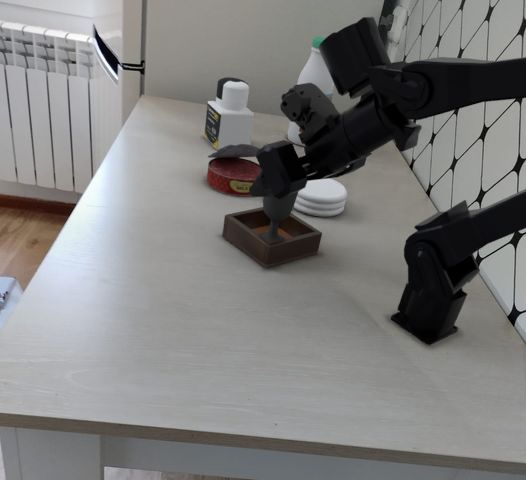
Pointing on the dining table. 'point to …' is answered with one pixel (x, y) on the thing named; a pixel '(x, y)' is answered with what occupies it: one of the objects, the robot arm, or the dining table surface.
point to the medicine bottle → (229, 114)
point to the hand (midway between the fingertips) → (272, 185)
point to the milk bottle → (313, 74)
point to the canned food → (233, 170)
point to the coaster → (321, 198)
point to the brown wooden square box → (260, 250)
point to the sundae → (277, 214)
